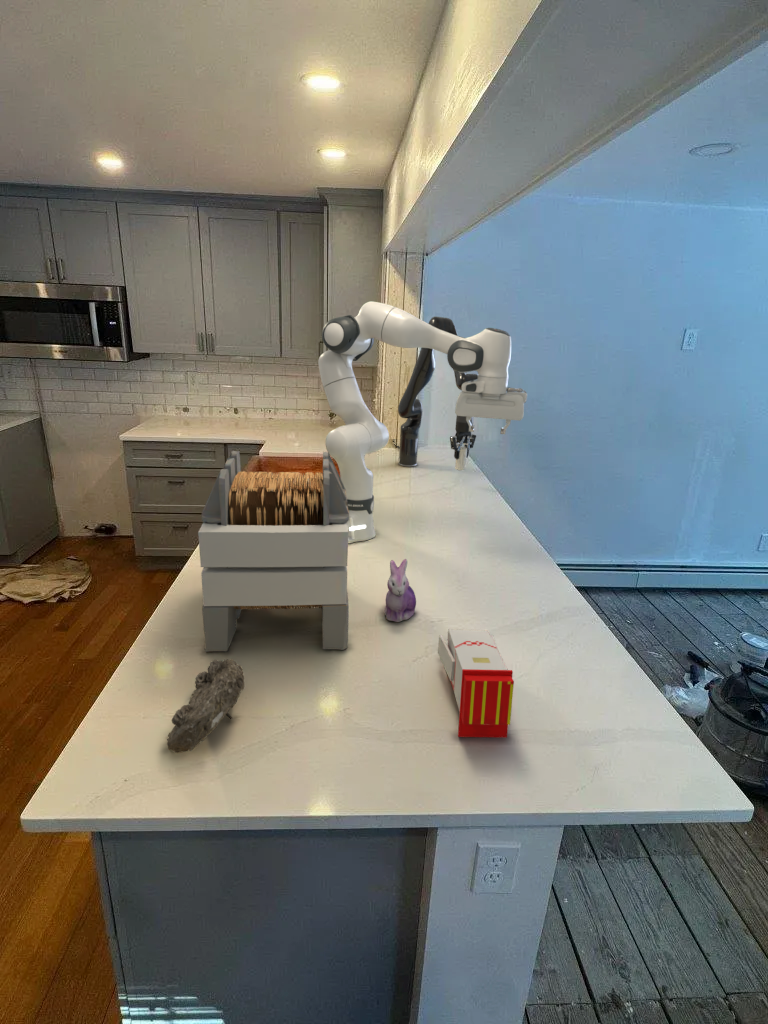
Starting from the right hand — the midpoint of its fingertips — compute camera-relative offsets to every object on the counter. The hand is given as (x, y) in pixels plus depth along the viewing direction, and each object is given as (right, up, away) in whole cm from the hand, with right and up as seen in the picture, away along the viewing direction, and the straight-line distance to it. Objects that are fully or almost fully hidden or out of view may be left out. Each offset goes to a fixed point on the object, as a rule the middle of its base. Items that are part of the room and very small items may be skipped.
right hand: (461, 457), depth 254 cm
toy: (-17, -62, -136) cm, 150 cm away
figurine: (-31, -51, -107) cm, 122 cm away
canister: (0, -5, +2) cm, 5 cm away
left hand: (-3, 0, -83) cm, 83 cm away
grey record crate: (-61, -50, -110) cm, 135 cm away
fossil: (-67, -63, -146) cm, 173 cm away
